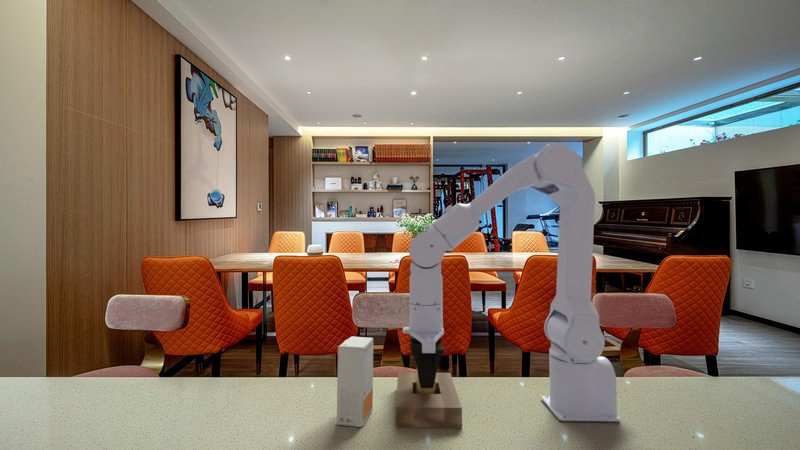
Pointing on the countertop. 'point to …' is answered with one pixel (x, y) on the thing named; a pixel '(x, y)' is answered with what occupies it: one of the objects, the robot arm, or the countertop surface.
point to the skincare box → (355, 381)
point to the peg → (424, 390)
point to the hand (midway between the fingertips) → (426, 382)
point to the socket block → (427, 403)
